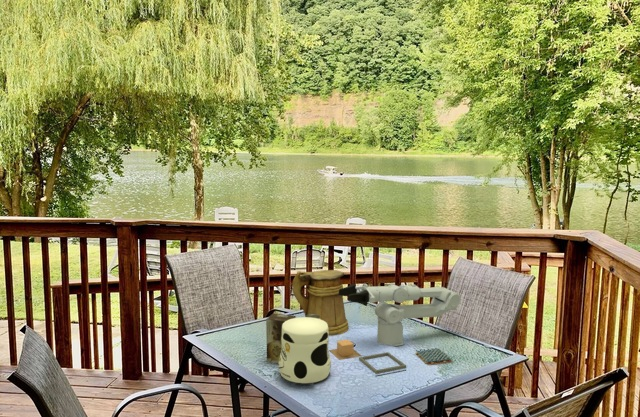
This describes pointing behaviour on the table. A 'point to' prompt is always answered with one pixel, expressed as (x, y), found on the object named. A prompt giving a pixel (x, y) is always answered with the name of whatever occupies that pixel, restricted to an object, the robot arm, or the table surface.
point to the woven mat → (433, 356)
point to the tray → (384, 368)
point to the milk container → (304, 351)
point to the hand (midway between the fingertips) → (343, 295)
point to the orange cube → (345, 347)
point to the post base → (336, 354)
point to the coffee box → (275, 336)
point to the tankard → (322, 298)
